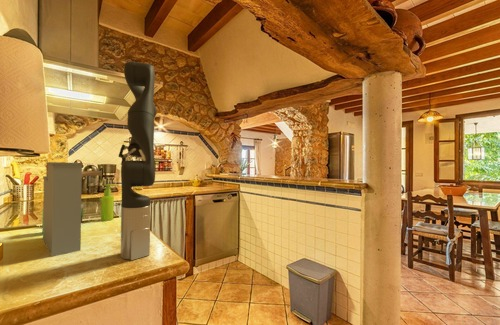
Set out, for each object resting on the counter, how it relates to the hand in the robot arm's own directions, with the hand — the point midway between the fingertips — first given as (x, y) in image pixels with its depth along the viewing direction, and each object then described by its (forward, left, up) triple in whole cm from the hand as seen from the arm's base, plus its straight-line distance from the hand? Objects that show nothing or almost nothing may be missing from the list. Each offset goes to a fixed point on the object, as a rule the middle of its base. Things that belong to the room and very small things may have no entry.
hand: (132, 168), depth 110 cm
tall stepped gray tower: (-1, +27, -30) cm, 40 cm away
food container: (+32, +16, -30) cm, 47 cm away
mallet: (+8, +21, -4) cm, 23 cm away
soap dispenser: (+28, +2, -30) cm, 41 cm away
